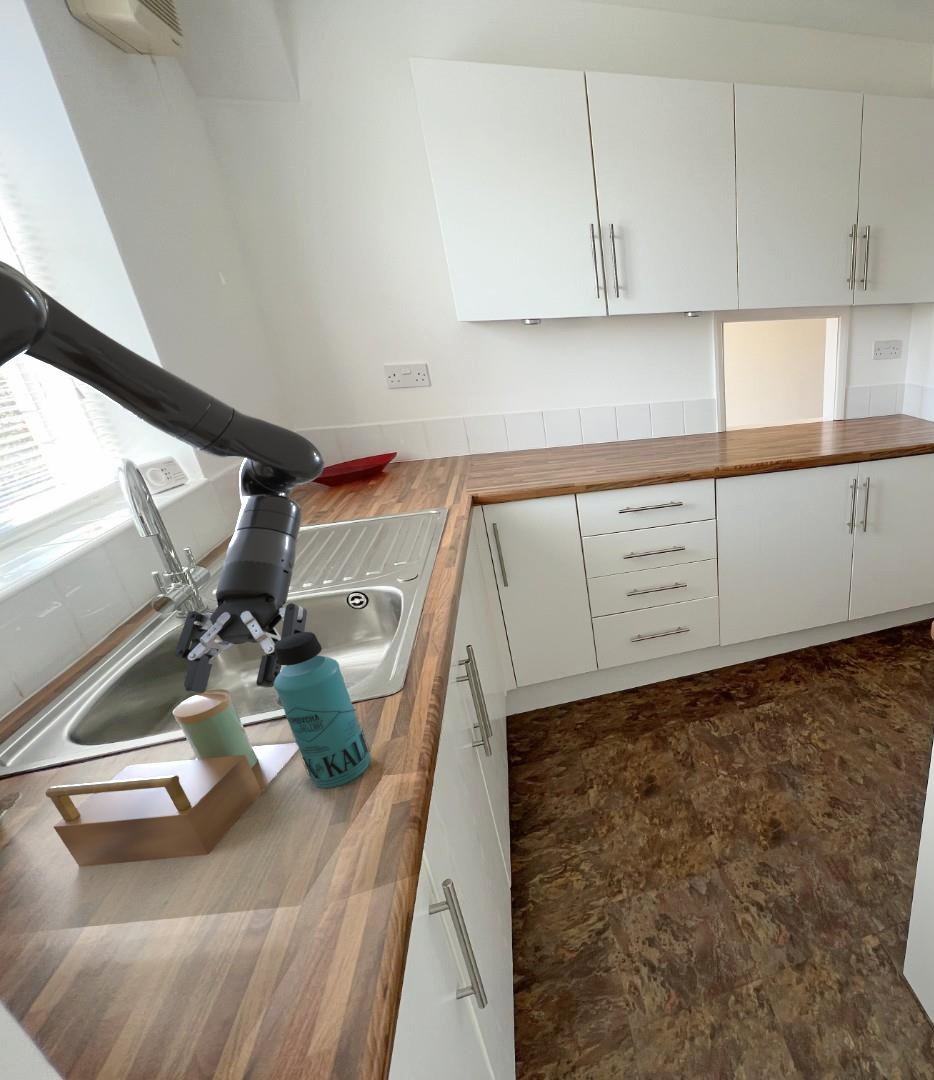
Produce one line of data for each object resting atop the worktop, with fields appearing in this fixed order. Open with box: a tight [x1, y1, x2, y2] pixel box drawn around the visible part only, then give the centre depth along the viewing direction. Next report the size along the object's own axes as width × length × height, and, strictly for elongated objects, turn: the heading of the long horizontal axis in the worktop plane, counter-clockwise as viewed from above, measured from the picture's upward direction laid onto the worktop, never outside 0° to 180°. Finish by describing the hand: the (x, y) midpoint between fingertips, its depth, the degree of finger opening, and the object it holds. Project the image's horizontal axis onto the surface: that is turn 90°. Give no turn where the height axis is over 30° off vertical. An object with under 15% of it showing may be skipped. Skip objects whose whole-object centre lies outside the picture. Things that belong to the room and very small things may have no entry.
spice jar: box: [172, 688, 257, 768], centre depth 71 cm, size 5×5×10 cm
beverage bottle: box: [273, 631, 372, 789], centre depth 68 cm, size 6×7×20 cm
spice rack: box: [45, 742, 300, 868], centre depth 67 cm, size 13×17×11 cm
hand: (230, 689), depth 73 cm, fingers open, 8 cm apart
